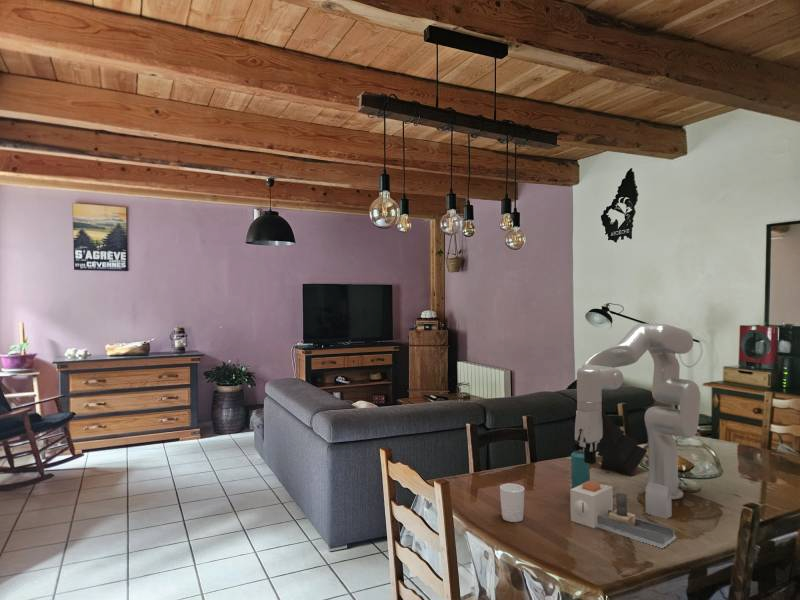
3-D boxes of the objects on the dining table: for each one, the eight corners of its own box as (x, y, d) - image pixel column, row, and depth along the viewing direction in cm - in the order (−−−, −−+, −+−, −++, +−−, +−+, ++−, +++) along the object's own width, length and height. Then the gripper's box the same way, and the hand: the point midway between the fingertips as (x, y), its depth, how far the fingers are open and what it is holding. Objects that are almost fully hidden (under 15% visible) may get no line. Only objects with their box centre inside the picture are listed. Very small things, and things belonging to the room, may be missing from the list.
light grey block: (666, 519, 166) (665, 488, 166) (645, 513, 172) (645, 483, 172) (671, 516, 169) (671, 485, 169) (651, 510, 174) (650, 480, 174)
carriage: (616, 518, 164) (615, 490, 164) (635, 524, 159) (634, 495, 159) (608, 523, 161) (608, 494, 161) (627, 529, 156) (627, 499, 156)
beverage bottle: (592, 502, 182) (591, 445, 182) (572, 501, 183) (571, 444, 184) (589, 495, 188) (588, 440, 189) (570, 494, 190) (569, 439, 190)
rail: (610, 519, 167) (610, 509, 167) (675, 539, 152) (675, 528, 152) (596, 527, 162) (596, 516, 162) (662, 548, 146) (662, 537, 146)
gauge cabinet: (590, 510, 174) (589, 480, 175) (613, 517, 168) (612, 486, 169) (570, 521, 166) (569, 489, 167) (593, 528, 160) (592, 496, 160)
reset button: (589, 492, 170) (588, 480, 171) (600, 496, 167) (600, 483, 167) (582, 495, 168) (582, 483, 168) (594, 499, 165) (593, 486, 165)
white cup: (497, 514, 173) (496, 484, 173) (520, 512, 174) (519, 482, 174) (504, 523, 165) (503, 492, 165) (528, 522, 166) (527, 491, 166)
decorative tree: (604, 474, 222) (569, 413, 212) (622, 449, 228) (588, 389, 218) (634, 483, 209) (598, 419, 200) (652, 457, 215) (618, 394, 206)
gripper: (590, 402, 176) (591, 456, 175) (566, 407, 166) (567, 464, 166) (611, 405, 170) (612, 461, 170) (588, 410, 160) (588, 470, 160)
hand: (590, 462), depth 168 cm, fingers closed
